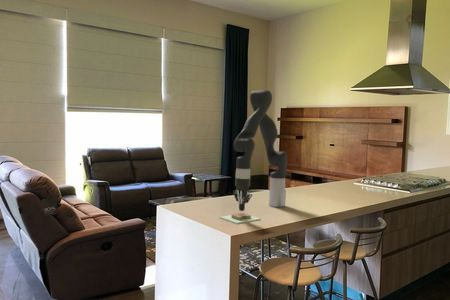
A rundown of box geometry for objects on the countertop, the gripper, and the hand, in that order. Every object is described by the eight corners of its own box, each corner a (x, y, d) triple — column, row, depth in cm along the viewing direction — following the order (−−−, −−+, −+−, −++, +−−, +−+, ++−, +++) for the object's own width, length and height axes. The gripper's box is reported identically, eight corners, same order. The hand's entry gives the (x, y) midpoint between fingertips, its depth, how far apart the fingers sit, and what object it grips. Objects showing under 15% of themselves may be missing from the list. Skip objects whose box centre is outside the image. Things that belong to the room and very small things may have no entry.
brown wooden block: (243, 212, 201) (250, 215, 197) (243, 215, 202) (250, 218, 197) (231, 214, 196) (239, 217, 192) (231, 217, 197) (238, 220, 192)
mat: (243, 214, 208) (243, 213, 208) (260, 219, 197) (260, 218, 197) (219, 217, 198) (219, 216, 198) (236, 224, 187) (236, 222, 187)
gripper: (257, 178, 192) (255, 212, 194) (240, 175, 203) (238, 207, 204) (245, 179, 188) (244, 214, 189) (229, 175, 198) (227, 208, 199)
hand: (241, 210), depth 196 cm, fingers closed
